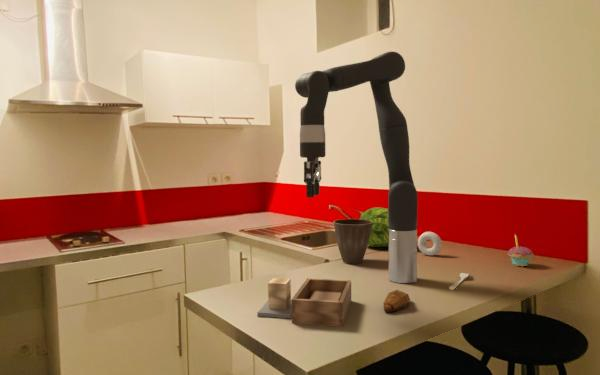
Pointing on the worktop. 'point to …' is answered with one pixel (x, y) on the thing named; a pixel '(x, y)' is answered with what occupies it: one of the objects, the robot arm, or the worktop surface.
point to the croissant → (396, 301)
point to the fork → (462, 275)
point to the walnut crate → (321, 302)
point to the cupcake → (520, 254)
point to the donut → (434, 238)
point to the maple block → (279, 293)
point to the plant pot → (352, 238)
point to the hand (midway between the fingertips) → (313, 196)
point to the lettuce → (378, 226)
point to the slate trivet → (275, 312)
